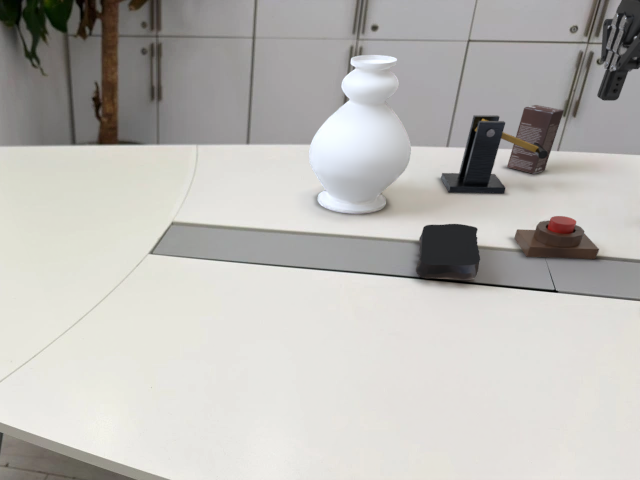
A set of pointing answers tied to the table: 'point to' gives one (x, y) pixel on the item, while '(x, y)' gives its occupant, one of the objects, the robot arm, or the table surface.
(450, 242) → the black sponge
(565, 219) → the red button
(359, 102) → the decorative vase
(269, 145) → the table surface
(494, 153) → the switch bracket
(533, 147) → the switch lever
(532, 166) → the box
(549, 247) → the button block
